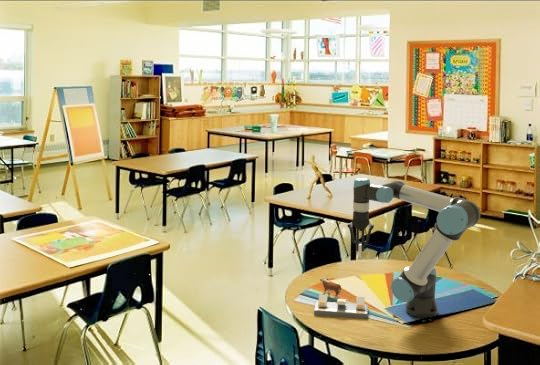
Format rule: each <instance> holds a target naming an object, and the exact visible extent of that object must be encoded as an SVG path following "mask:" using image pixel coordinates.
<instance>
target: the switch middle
mask: <svg viewBox="0 0 540 365" xmlns="http://www.w3.org/2000/svg"><path fill="white" fill-rule="evenodd" d="M336 302H337V304H338V305H345V304H346V303H347V299H346V298H337V301H336Z"/></svg>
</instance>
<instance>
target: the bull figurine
mask: <svg viewBox="0 0 540 365" xmlns="http://www.w3.org/2000/svg"><path fill="white" fill-rule="evenodd" d="M319 280H320V282H321V283H322V285H323V288H324V289H323V290H324V291H323V295H326V292H327V295H330V294H331V293H334V292H335V294H334V296H335V297H334V298H335V299H338V296H339V295H340V294H341V290H342V287H341V286H342V285H340V284H338V283H336V282H333V281H330V280H329V279H328V278H325V277H322V278H321V279H319ZM330 291H331V292H330Z"/></svg>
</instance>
